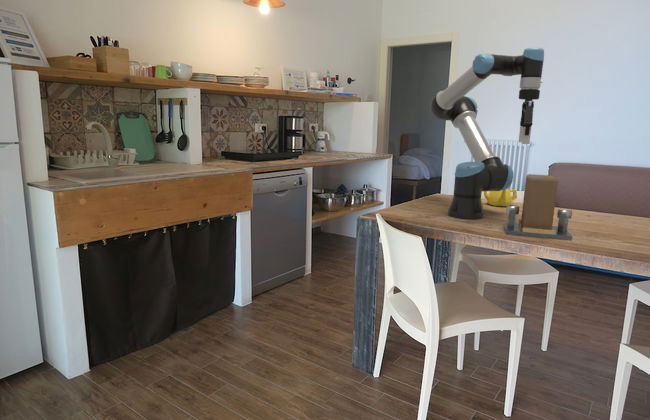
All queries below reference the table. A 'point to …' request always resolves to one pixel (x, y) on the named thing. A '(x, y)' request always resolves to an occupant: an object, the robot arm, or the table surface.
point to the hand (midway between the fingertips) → (523, 143)
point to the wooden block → (539, 201)
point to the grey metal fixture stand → (555, 233)
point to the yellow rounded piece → (500, 197)
